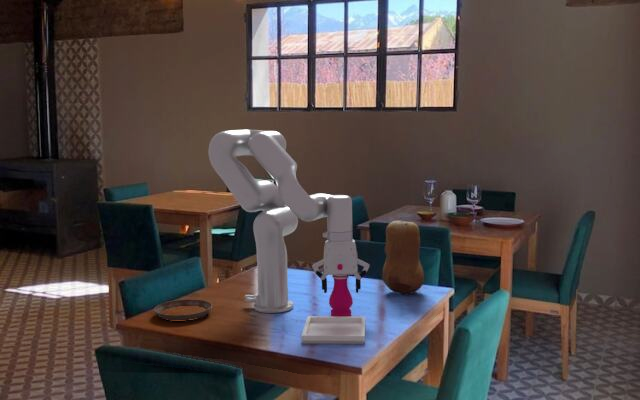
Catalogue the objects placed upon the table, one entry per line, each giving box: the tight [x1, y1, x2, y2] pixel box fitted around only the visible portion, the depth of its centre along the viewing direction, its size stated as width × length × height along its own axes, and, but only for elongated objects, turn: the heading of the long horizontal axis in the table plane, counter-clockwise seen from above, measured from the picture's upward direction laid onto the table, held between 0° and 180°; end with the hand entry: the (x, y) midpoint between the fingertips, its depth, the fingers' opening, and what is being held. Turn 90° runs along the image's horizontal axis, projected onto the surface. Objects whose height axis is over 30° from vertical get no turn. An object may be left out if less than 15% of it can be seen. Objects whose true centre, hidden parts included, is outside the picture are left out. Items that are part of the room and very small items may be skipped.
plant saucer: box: [153, 298, 213, 320], centre depth 208 cm, size 18×18×3 cm
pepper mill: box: [328, 264, 354, 317], centre depth 202 cm, size 7×7×20 cm
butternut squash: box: [381, 219, 425, 296], centre depth 226 cm, size 14×13×25 cm
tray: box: [301, 315, 366, 345], centre depth 188 cm, size 17×17×2 cm
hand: (341, 291), depth 203 cm, fingers open, 9 cm apart
